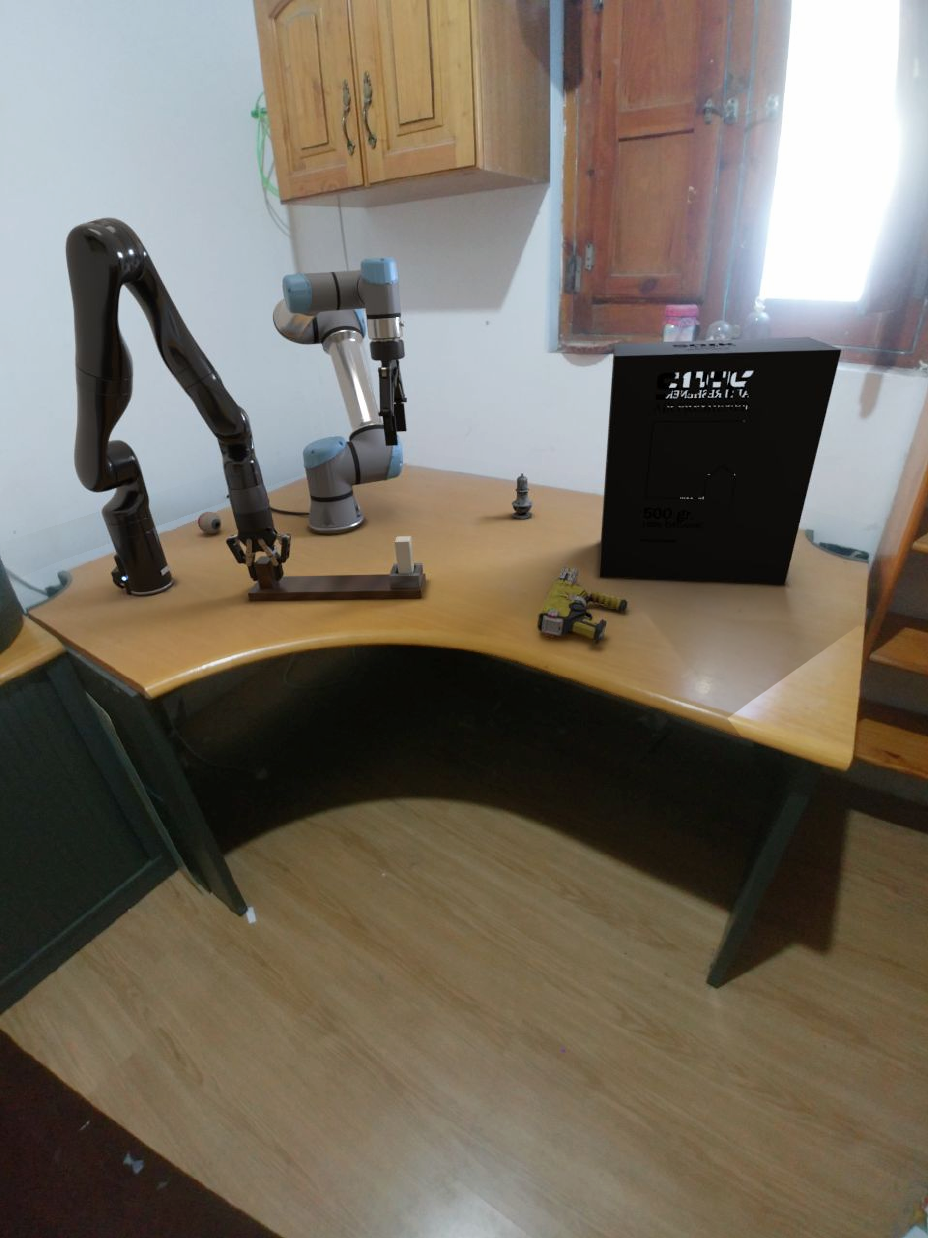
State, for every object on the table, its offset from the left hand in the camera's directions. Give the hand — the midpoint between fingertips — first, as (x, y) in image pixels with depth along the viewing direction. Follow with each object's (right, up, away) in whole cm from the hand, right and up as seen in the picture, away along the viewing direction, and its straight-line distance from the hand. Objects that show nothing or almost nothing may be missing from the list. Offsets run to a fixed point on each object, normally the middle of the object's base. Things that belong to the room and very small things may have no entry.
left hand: (268, 579), depth 133 cm
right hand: (+27, +34, +9) cm, 45 cm away
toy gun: (+68, -8, -14) cm, 70 cm away
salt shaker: (+60, +20, +35) cm, 72 cm away
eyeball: (-27, +15, +36) cm, 47 cm away
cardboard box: (+94, +4, +4) cm, 94 cm away
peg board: (+16, -3, 0) cm, 16 cm away
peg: (+31, -1, -2) cm, 31 cm away
